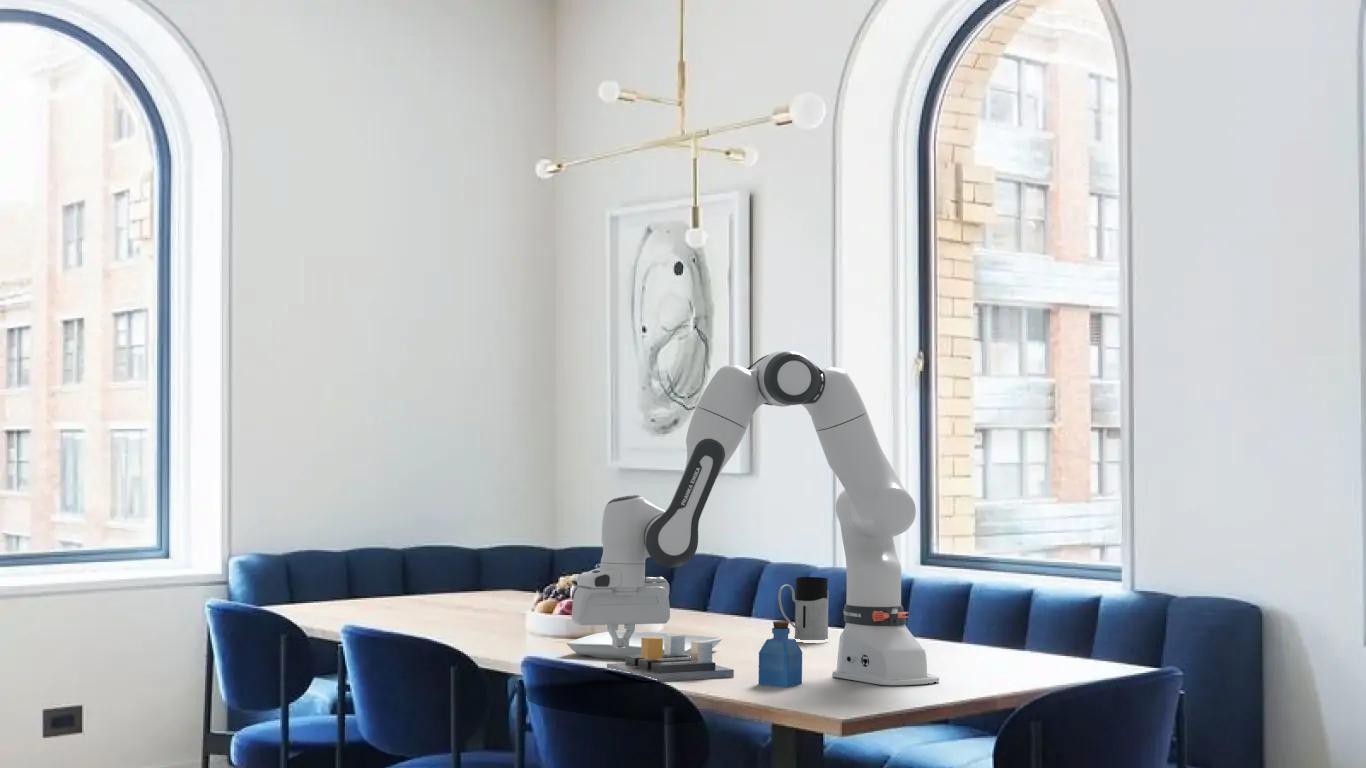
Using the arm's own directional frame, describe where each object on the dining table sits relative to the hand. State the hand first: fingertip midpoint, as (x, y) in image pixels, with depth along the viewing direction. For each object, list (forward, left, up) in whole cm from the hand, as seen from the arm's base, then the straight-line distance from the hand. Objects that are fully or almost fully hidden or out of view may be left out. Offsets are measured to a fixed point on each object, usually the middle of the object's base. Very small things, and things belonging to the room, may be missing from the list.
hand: (620, 647), depth 331 cm
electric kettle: (+40, -66, -6) cm, 77 cm away
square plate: (+32, -21, -6) cm, 39 cm away
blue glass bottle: (-20, -25, -6) cm, 33 cm away
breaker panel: (0, -11, -6) cm, 12 cm away
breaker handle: (0, -7, -2) cm, 7 cm away
